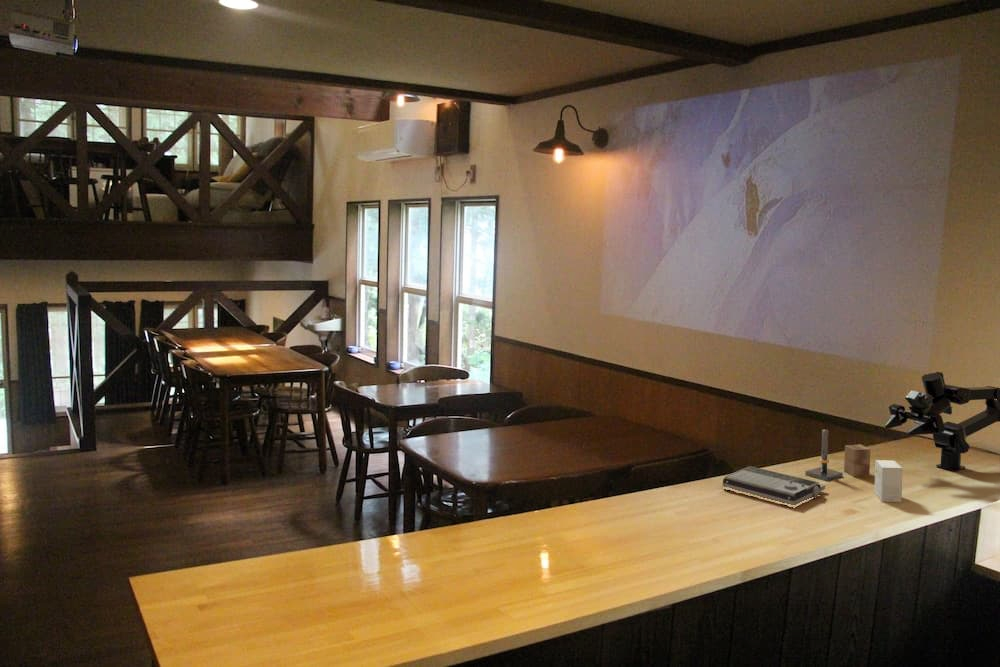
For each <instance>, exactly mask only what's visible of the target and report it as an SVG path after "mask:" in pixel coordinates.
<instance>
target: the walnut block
mask: <svg viewBox="0 0 1000 667" xmlns="http://www.w3.org/2000/svg"><path fill="white" fill-rule="evenodd" d="M843 463H844V464H843V465H844V469H843V472H844V473H846V474H847V475H849V476H851V477H852V478H855V477H854V476H861V477H867V476H866V475H869V476H870V469H871V468H870V466H871V448H869V447H866V446H865V445H863V444H848V445H844V462H843Z"/></svg>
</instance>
